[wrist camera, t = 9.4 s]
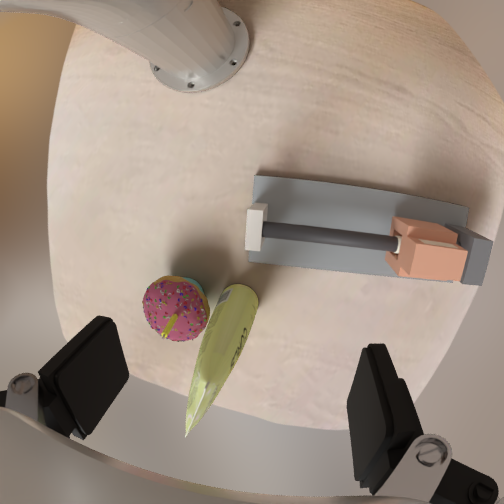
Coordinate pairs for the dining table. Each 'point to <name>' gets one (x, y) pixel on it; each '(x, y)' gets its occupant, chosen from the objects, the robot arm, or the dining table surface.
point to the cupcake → (176, 308)
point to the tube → (220, 348)
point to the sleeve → (426, 251)
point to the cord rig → (347, 227)
